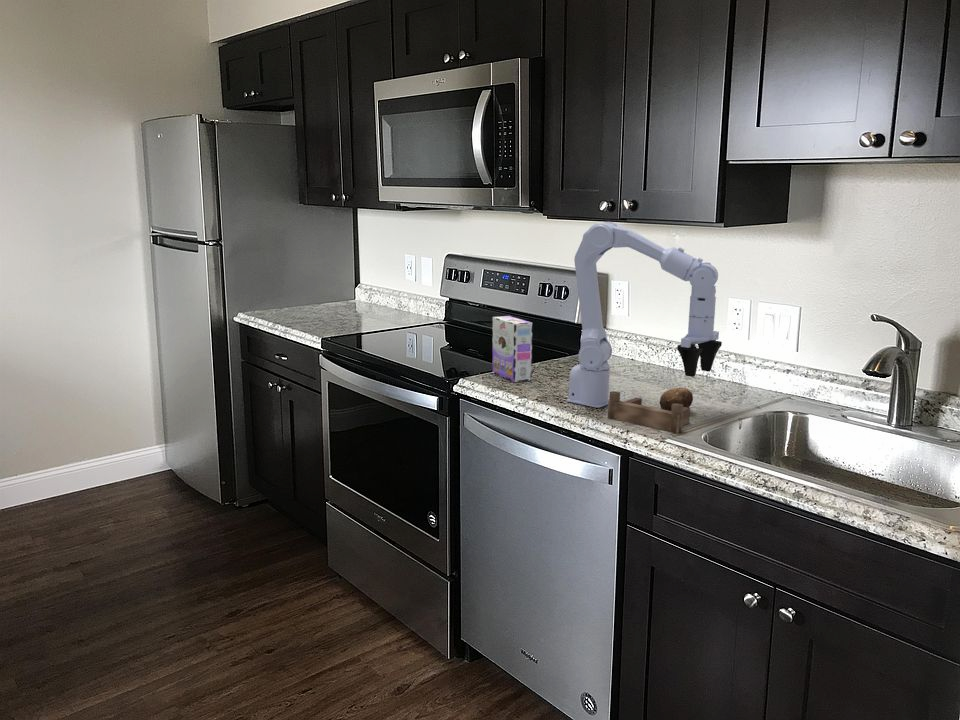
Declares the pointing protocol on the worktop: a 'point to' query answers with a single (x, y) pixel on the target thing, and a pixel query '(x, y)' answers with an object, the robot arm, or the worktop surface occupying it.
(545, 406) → the worktop surface
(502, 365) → the candy box
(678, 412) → the wooden crate
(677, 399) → the mushroom
